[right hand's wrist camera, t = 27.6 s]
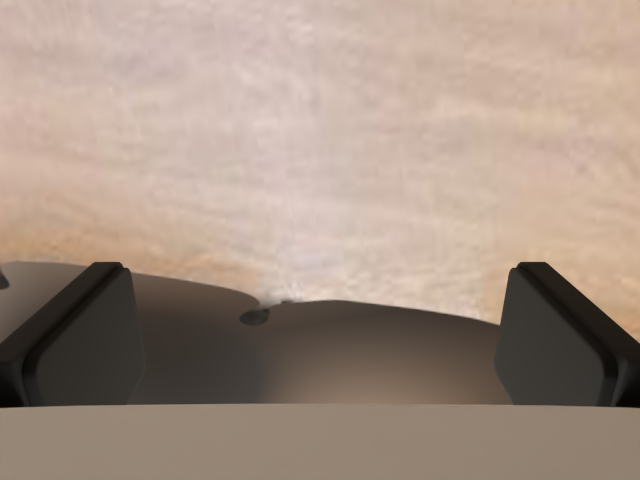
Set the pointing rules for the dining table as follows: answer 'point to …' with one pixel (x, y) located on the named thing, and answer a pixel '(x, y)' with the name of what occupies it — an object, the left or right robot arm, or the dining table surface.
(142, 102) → the dining table surface
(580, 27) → the dining table surface
